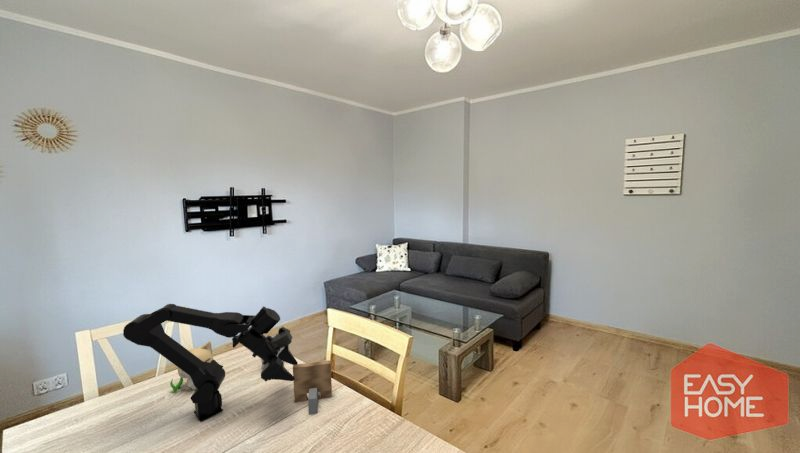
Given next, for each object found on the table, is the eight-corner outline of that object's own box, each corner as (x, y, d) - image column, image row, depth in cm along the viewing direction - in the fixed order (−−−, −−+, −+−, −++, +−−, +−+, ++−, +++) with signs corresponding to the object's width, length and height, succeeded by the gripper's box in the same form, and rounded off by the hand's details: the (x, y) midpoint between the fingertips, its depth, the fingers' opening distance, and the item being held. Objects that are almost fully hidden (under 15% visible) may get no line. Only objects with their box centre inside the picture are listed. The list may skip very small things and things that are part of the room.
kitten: (169, 400, 110) (165, 358, 108) (172, 384, 118) (168, 345, 116) (220, 385, 117) (217, 346, 115) (219, 372, 126) (216, 335, 124)
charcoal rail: (317, 413, 102) (316, 398, 102) (308, 414, 102) (308, 399, 101) (318, 386, 116) (318, 373, 115) (311, 387, 115) (310, 374, 115)
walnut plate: (294, 402, 108) (292, 368, 106) (295, 398, 109) (293, 364, 108) (331, 397, 110) (330, 363, 108) (331, 393, 112) (330, 360, 110)
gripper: (270, 337, 95) (310, 369, 99) (280, 313, 113) (314, 340, 117) (242, 366, 95) (284, 396, 98) (257, 337, 113) (292, 363, 116)
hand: (295, 371), depth 107 cm, fingers open, 9 cm apart
